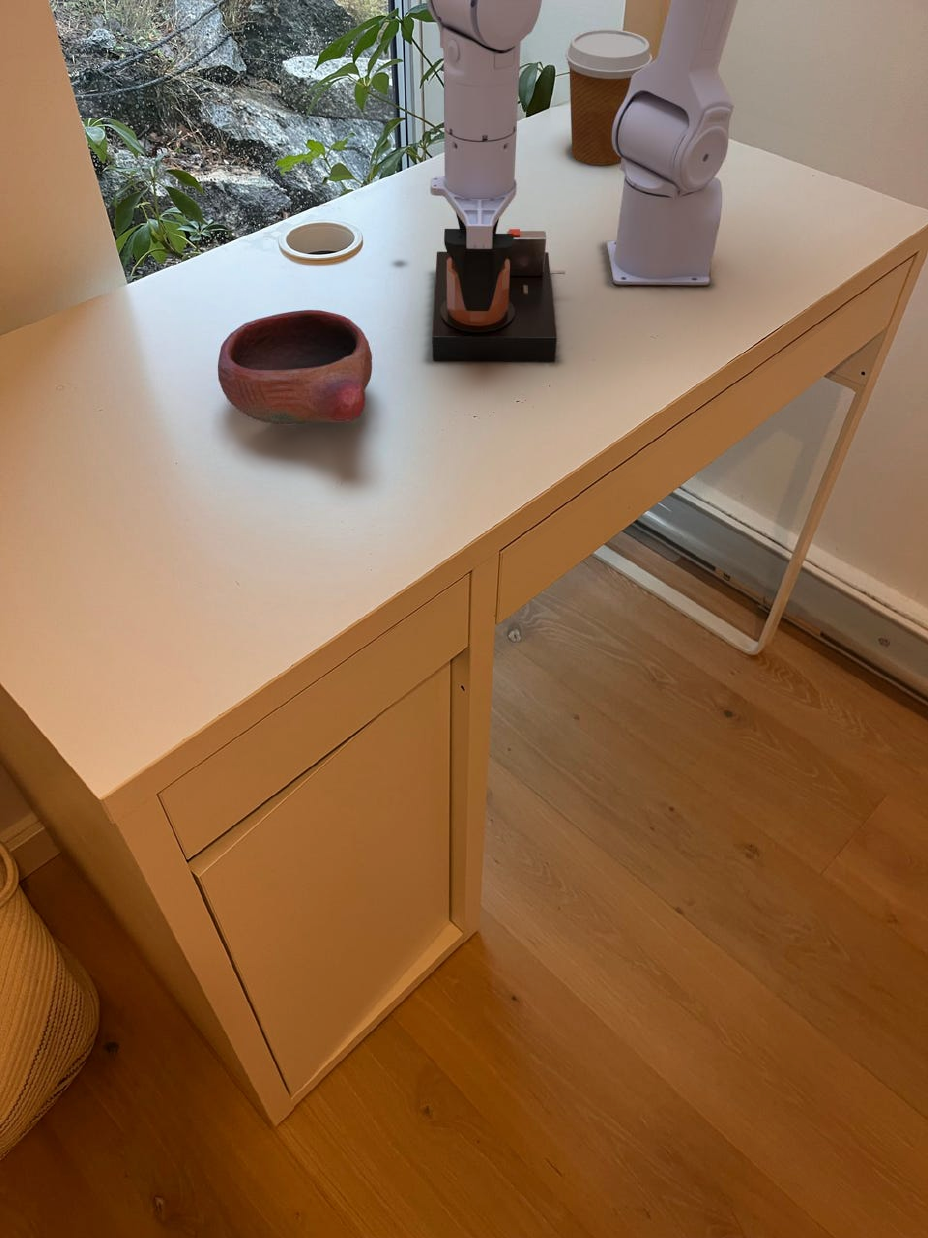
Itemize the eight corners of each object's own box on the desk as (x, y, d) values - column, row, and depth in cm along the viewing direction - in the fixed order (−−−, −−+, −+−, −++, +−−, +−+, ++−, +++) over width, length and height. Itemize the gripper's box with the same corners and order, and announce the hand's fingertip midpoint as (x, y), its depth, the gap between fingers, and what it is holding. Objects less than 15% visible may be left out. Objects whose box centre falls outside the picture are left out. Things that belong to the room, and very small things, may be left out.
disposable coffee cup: (554, 168, 113) (562, 55, 104) (562, 133, 120) (571, 24, 111) (636, 174, 112) (652, 61, 103) (640, 139, 119) (655, 30, 110)
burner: (513, 292, 91) (514, 290, 91) (515, 333, 86) (515, 331, 86) (441, 292, 91) (441, 290, 91) (439, 332, 86) (439, 330, 86)
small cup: (507, 294, 90) (509, 248, 87) (508, 327, 86) (510, 280, 83) (447, 293, 90) (447, 247, 87) (446, 326, 86) (446, 280, 83)
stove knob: (542, 268, 93) (545, 228, 90) (543, 276, 93) (546, 235, 90) (505, 268, 93) (507, 228, 90) (505, 275, 93) (507, 235, 89)
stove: (560, 275, 98) (562, 250, 96) (570, 361, 88) (572, 336, 86) (437, 274, 98) (436, 249, 96) (432, 360, 88) (432, 334, 86)
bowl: (194, 426, 81) (173, 343, 75) (285, 350, 89) (272, 268, 83) (356, 489, 76) (347, 405, 70) (437, 402, 84) (436, 319, 78)
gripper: (432, 89, 81) (434, 244, 91) (426, 167, 71) (429, 330, 82) (516, 90, 81) (509, 245, 91) (522, 168, 71) (514, 331, 82)
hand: (477, 285), depth 86 cm, fingers open, 7 cm apart
